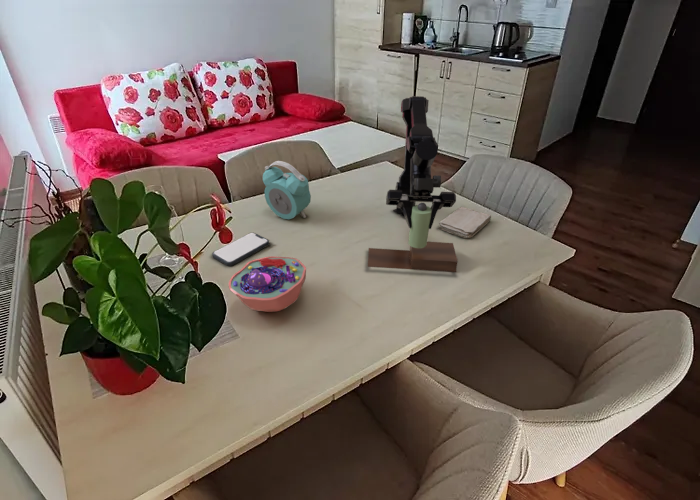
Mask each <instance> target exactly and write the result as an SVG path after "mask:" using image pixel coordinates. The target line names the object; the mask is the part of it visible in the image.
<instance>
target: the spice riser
mask: <svg viewBox="0 0 700 500" xmlns="http://www.w3.org/2000/svg"><path fill="white" fill-rule="evenodd" d="M458 263H459V261H458V258H457V253H456V249H455V246H454V243H453V242H444V241H443V242H442V241H441V242H439V241H427V245H426V246H425V247H424V248H414V247H411V246H410V245H409V250H408V249H390V248H375V247H374V248H373V247H368V254H367V268H381V269H396V270H400V269H401V270H413V271H414V270H415V271H432V272H448V273H457V268H458Z"/></svg>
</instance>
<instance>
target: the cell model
mask: <svg viewBox="0 0 700 500" xmlns="http://www.w3.org/2000/svg"><path fill="white" fill-rule="evenodd" d="M306 279H307V267H306V265H305V264H304V263H303V262H302V261H301V260H300V259H298V258H295V257H291V256H290V257H288V256H265V257H260V258H255V259H253V260H252V259H251V260H250V261H248V262H246V263H245V265H244V266H243V267H242V268H241V269H239V270H238V271H237V272H235V273H234V274H233V275H232V276H231V277H230V279H229V281H228V288H229V291H230V292H232V294H234V295H235V296H236V297H237V299H239V300H240V301H241V303H242V304H243V305H244V306H246V307H247V308H248V309H249V310H251V311H254V312H255V311H257V312H258V311H259V312H266V313H267V312H268V313H276V312H280V311H283V310H285V309H286V308H288V307H289V306H291V305H292V304H294V303H295V302H296V301H297V300H298V299H299V297H300V295H301V292H302V288H303V286H304V285H305V282H306Z"/></svg>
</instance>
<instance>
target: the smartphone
mask: <svg viewBox="0 0 700 500" xmlns="http://www.w3.org/2000/svg"><path fill="white" fill-rule="evenodd" d="M229 243H230V244H229ZM229 243H228V244H225V245H223V246H222V247H219V248H218V249H216V250H214V251H213V252H212V253H211V254H212V258H213V259H215V260H217V261H219V262H220V263H222V264H223V265H225V266H227V267H233V266H234V265H236V264H238V263H240V262H241V261H243V260H244V259H246V258H249V257H250V256H252V255H253V254H256V253H257V252H259V251H261V250H263V249H264V248H267V247H268V246H269V245H270V240H269V239H268V238H265V237H264V236H262V235H261V234H260V235H259V234H258V233H256V232H249V233H247V234H245V235H243V236H241V237H239V238H237V239H235V240H233V241H231V242H229Z"/></svg>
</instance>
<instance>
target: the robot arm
mask: <svg viewBox="0 0 700 500" xmlns="http://www.w3.org/2000/svg"><path fill="white" fill-rule="evenodd" d="M428 112H429V99H427V97H426V96H424V95H423V96H419V95H411V96H409V97H405V98H403V99H402V100H401V104H400V113H401V114H402V116H401V117H402V118H401V119H402V120H403V122H404V124H405V126H406V127H405V128H406V129H405V144H404V145H405V146H404V161H403V162H404V163H403V170H402V172H401V173H400V175H399V176H398V181H397V182H396V184H395V189H389V190H387V193H386V197H385V205H387V206H396V208H394V209H393V213H396V214H397V215H399V216H402V217H403V218H405V221H406V223H407V226H408V228H409V229H410V228H411V215H412V208H413V207H414V206H416V205H417V204H416V203H431V206H430V208H431V210H432V211H431V218H430V225H429V230H432V227H433V224H434V221H435V218H436V216H437V213H438V211H439V210H440V211H441V210H442V209H443V208H452V207H453V206H454V205H455V203H456V202H457V194H456V193H455V192H454V191H440V194H438V195H437V194H436V195H435V194H433V193H434V189H435V188H439V189H441V187H442V175H433V176H432V166H433V164H434V161H435V159H436V157H437V155H438V153H439V152H438V151H439V144H438V142H437V141H436V137H434V134H433V133H434V132H433V129H432V128H430V127H429V126H428V121H427V113H428Z"/></svg>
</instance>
